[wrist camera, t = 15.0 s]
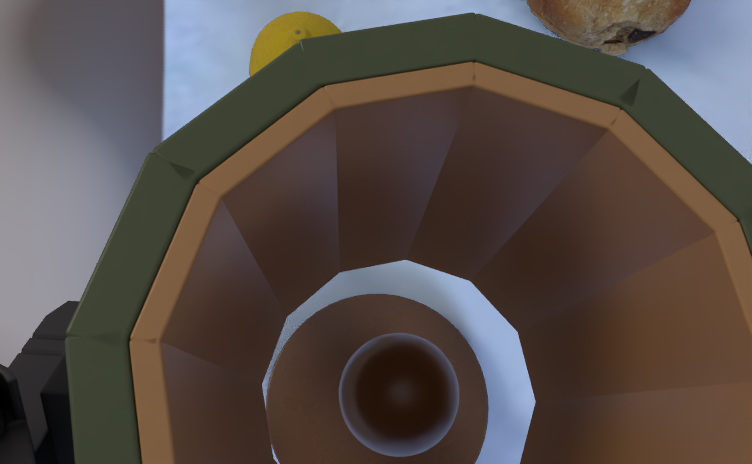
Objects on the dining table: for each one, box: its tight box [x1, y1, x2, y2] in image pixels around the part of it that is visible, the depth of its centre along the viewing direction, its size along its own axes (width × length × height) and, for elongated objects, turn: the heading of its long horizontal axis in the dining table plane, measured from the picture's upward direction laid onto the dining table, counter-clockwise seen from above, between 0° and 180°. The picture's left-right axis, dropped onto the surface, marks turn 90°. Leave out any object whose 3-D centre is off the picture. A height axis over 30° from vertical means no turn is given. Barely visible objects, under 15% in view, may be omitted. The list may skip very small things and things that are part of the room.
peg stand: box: [266, 294, 488, 464], centre depth 26 cm, size 11×11×17 cm
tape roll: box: [65, 13, 752, 464], centre depth 14 cm, size 10×10×11 cm
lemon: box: [249, 12, 342, 77], centre depth 35 cm, size 6×6×8 cm
